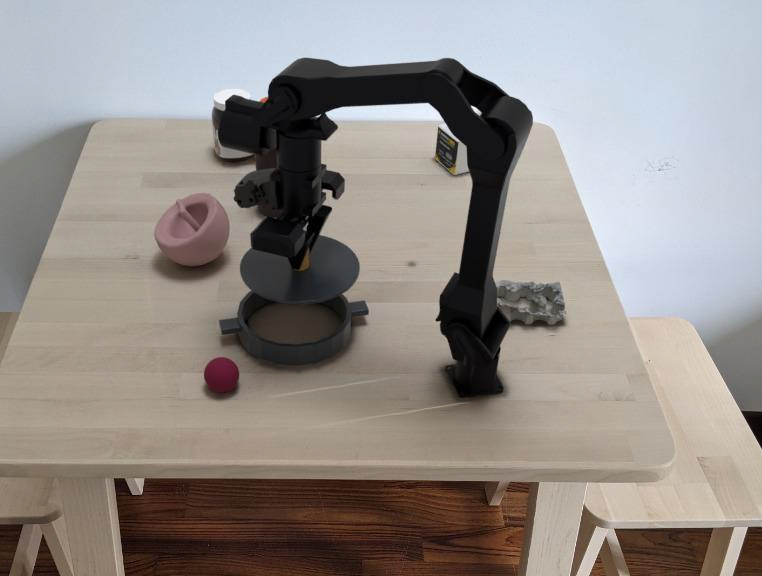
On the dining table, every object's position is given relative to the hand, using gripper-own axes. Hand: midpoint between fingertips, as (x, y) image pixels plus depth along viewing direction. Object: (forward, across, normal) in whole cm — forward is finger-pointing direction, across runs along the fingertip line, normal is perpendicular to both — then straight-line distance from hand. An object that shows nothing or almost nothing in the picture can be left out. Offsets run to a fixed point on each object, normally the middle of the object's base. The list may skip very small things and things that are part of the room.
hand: (300, 263), depth 127 cm
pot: (+12, +1, 0) cm, 12 cm away
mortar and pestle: (+12, -10, -23) cm, 28 cm away
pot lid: (+1, 0, 0) cm, 1 cm away
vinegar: (+12, -29, -17) cm, 36 cm away
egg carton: (+12, -17, +30) cm, 36 cm away
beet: (+11, +16, -4) cm, 20 cm away
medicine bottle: (+12, -58, +8) cm, 59 cm away
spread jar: (+12, -45, -31) cm, 56 cm away
